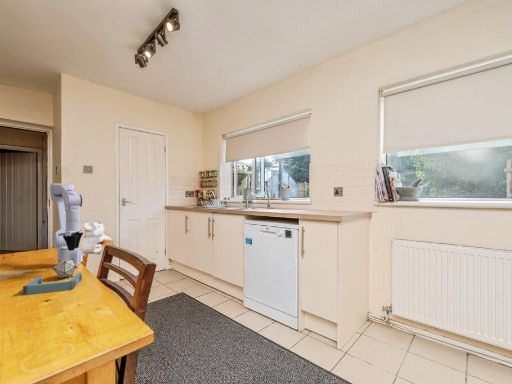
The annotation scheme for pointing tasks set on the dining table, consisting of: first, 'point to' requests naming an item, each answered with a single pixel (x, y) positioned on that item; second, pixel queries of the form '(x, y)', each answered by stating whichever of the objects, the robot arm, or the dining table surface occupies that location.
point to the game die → (65, 268)
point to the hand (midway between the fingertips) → (73, 249)
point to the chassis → (50, 285)
